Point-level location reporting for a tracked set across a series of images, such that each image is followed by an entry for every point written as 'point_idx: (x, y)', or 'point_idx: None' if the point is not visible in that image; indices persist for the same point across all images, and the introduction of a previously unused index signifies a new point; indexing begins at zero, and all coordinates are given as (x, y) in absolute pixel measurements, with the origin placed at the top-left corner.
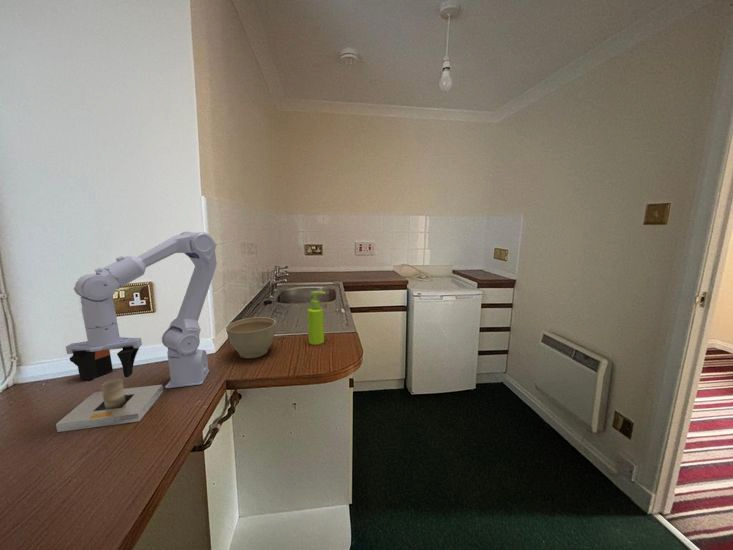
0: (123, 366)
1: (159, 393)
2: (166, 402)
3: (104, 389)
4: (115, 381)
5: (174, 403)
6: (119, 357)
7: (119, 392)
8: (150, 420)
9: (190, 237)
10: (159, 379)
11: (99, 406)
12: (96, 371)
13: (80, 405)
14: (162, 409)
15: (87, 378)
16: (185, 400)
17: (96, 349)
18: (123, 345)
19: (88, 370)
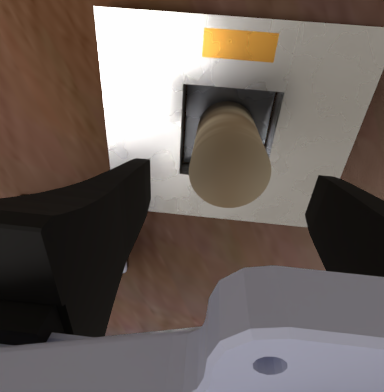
0: (113, 179)
1: None
2: (75, 120)
3: (247, 133)
4: (219, 184)
5: (43, 104)
6: (73, 208)
7: (197, 137)
8: (67, 3)
9: None
10: (166, 262)
11: (274, 131)
12: (312, 237)
13: (341, 153)
14: (64, 75)
15: (341, 181)
16: (16, 113)
17: (288, 305)
18: None
19: (351, 212)
